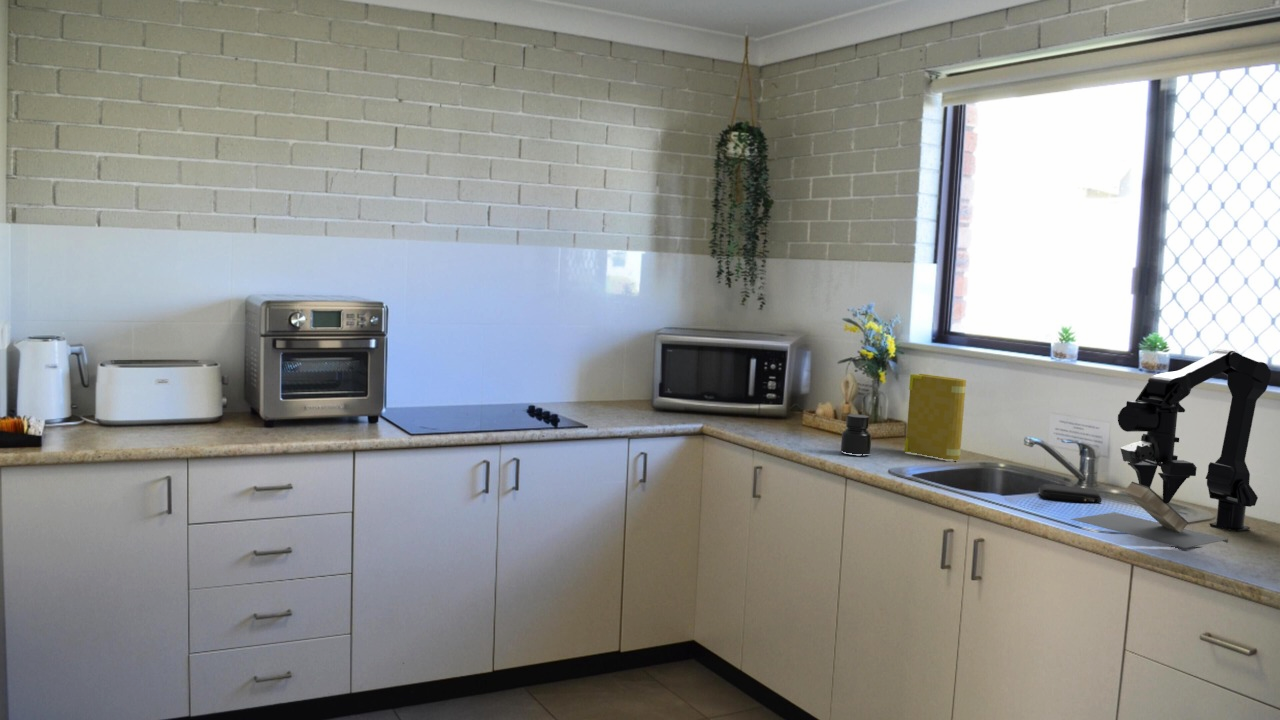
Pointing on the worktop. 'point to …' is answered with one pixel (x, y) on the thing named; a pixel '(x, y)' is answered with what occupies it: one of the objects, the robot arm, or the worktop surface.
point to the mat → (1150, 530)
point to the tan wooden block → (1156, 507)
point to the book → (935, 416)
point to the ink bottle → (856, 435)
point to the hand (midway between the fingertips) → (1154, 499)
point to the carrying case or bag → (1069, 494)
